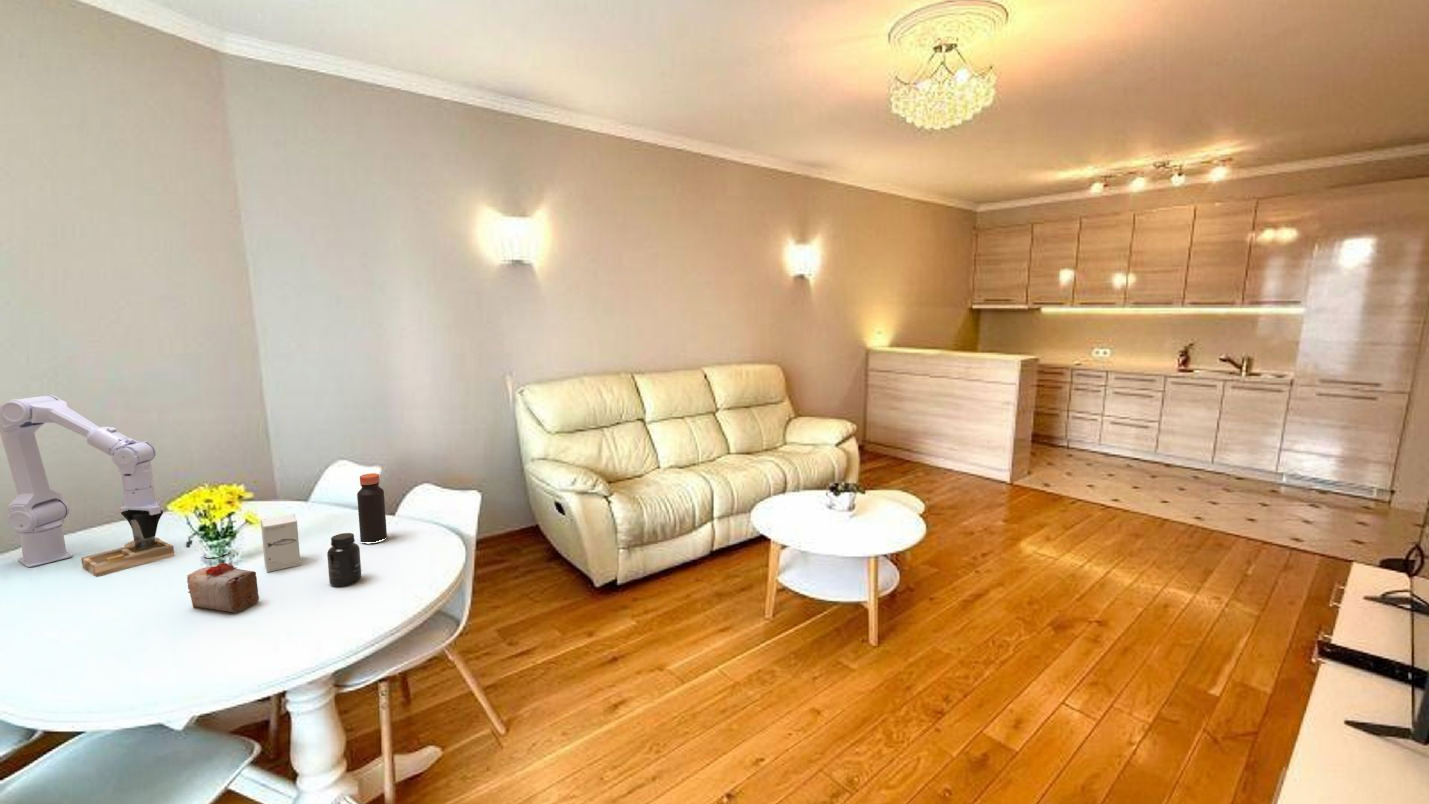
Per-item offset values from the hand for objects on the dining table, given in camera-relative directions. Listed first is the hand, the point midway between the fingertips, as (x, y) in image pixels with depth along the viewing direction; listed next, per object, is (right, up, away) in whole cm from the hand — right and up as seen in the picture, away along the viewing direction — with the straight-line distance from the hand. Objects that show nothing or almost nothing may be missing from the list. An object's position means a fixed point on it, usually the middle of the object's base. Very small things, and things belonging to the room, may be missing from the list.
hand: (145, 535), depth 153 cm
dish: (-6, -5, +6) cm, 10 cm away
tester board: (-2, -6, -2) cm, 7 cm away
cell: (0, -3, 0) cm, 3 cm away
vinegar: (+53, -5, +15) cm, 55 cm away
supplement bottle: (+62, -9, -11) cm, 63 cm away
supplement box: (+39, -8, -2) cm, 40 cm away
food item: (+42, -11, -23) cm, 49 cm away
